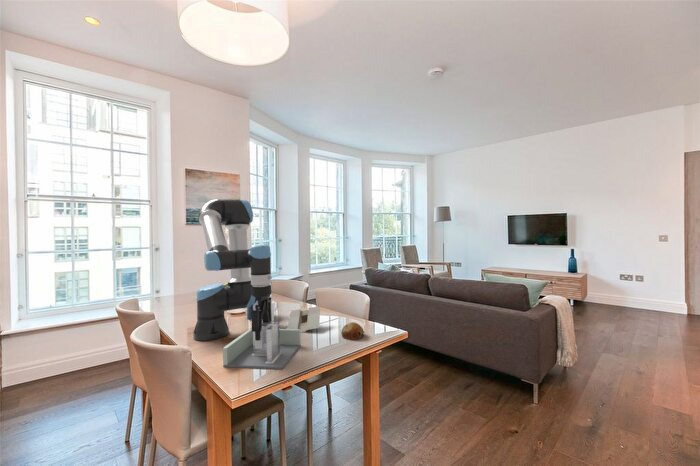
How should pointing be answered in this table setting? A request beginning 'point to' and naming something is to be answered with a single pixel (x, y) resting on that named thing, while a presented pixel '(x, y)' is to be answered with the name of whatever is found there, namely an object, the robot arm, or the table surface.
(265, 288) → the robot arm
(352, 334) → the bread roll
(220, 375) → the table surface
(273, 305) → the candle holder
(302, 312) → the wall
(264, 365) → the corner tray
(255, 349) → the angle bracket
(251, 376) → the table surface
